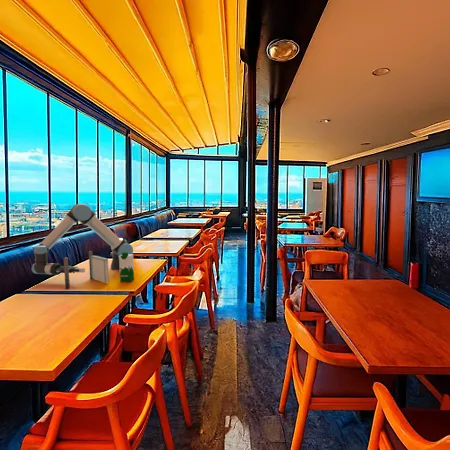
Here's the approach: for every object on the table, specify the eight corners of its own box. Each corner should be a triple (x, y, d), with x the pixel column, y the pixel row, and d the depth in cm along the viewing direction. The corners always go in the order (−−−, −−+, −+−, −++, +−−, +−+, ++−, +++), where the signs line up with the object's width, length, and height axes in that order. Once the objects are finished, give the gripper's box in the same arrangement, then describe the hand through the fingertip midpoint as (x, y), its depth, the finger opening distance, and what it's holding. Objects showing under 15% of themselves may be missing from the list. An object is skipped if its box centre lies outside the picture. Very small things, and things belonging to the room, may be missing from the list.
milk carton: (118, 282, 228) (117, 253, 227) (123, 279, 237) (122, 251, 236) (131, 282, 228) (129, 253, 226) (135, 279, 237) (134, 251, 235)
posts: (91, 278, 241) (90, 250, 239) (94, 278, 240) (93, 250, 238) (64, 289, 214) (62, 258, 212) (67, 289, 213) (66, 258, 212)
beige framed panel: (91, 278, 237) (90, 255, 235) (94, 277, 238) (93, 255, 237) (105, 282, 224) (104, 259, 223) (108, 282, 226) (107, 258, 224)
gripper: (60, 272, 238) (90, 273, 232) (47, 276, 225) (78, 278, 220) (60, 261, 237) (89, 262, 232) (46, 265, 224) (77, 266, 219)
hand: (84, 270), depth 226 cm, fingers closed
